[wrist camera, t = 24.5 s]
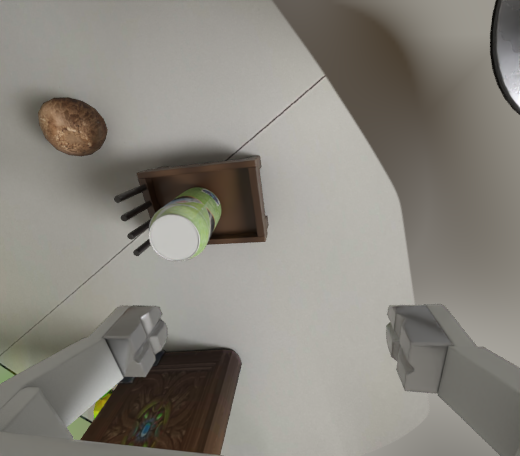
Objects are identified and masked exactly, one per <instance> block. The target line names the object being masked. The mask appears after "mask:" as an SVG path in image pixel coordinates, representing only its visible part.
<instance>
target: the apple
mask: <svg viewBox="0 0 520 456" xmlns="http://www.w3.org/2000/svg"><path fill="white" fill-rule="evenodd" d="M110 391H111V389H110V390H109V391H108V392H107V393H106V394H105V395H103V396H102V397H101V398H100V399H99V400H98V401H97V402H96V404H95V408H94V419H95V418H96V416H97V415H98V413H99V412H100V410H101V409H102V407H103V406H104V404H105V403H106V401H107V400H108V399H109V397H110V396H111V394H108V393H109V392H110Z"/></svg>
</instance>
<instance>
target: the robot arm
mask: <svg viewBox="0 0 520 456" xmlns="http://www.w3.org/2000/svg"><path fill="white" fill-rule="evenodd" d="M387 315H388V318H389V320H390V323H389V324H388V325H387V326H386V339H387V345H388V349H389V352H390V354H391V357H392V358H394V359H395V360H396V361H397V369H396V370H397V372H398V375H399V377H400V380H401V382H402V385H403V387H404V390H405V391H413V392H425V393H438V396H439V397H440V398H441V399H442V400H443V401H444V402H445V403H446V404H447V405H449V406H450V407H451V408H452V409H453V410H454V411H455V412H456V413H457V414H458V415H459V416H460V417H461V418H462V419H463V420H464V421H465V422H466V423H467V424H468V425H469V426H470V427H471V428H472V429H473V430H474V431H475V432H476V433H477V434H479V436H481V437H482V438H483V439H484V440H485V441H486V442H487V443H488V444H489V445H490V446H491V447H492V448H493V449H494V450H495V451H496V452H497V453H498V454H499V455H500V456H520V368H519V367H517V366H516V365H514V364H512V363H510V362H509V361H507V360H505V359H504V358H502V357H500V356H498V355H497V354H495V353H493V352H492V351H490V350H488V349H486V348H485V347H477V346H476V344H475V343H474V342H473V341H472V339H471V338H470V337H469V336H468V334H467V333H466V332H465V330H464V329H463V328H462V327H461V325H460V324H459V323H458V322H457V320H456V319H455V318H454V317H453V315H452V314H451V313H450V312H449V311H448V309H447V308H446V307H445V306H444V305H442V304H427V305H426V304H424V305H389V307H388V313H387ZM161 316H162V312H161V309H160V307H157V306H134V305H133V306H123V305H122V306H119V307H117V308H116V309H115V310H114V311H113V312H112V313H111V314H110V315H109V316H108V317H107V318H106V319H105V320H104V322H103V323H102V324H101V325H100V326H99V327H98V328H97V329H96V330H95V331H94V332H93V333H92V334H91V335H90V336H89V337H88V338H83V339H81V340H79V341H77V342H75V343H73V344H72V345H70V346H68V347H66V348H64V349H63V350H61V351H59V352H57V353H55V354H53V355H52V356H50V357H48V358H46V359H44V360H43V361H41V362H39V363H37V364H35V365H33V366H32V367H30V368H28V369H26V370H24V371H23V372H21V373H19V374H17V375H15V376H13V377H12V378H10V379H8V380H6V381H4V382H3V383H1V384H0V456H222V455H213V454H204V453H194V452H185V451H176V450H166V449H157V448H148V447H138V446H129V445H120V444H111V443H101V442H92V441H83V440H74V439H73V436H72V435H71V433H70V432H69V430H68V429H67V427H68V426H69V425H70V424H71V423H72V422H73V421H75V420H76V419H77V418H78V417H79V416H80V415H82V414H83V413H84V412H85V411H86V410H87V409H88V408H90V407H91V406H92V405H93V404H94V403H95V402H97V401H98V400H99V399H100V398H101V397H102V396H103V395H105V394H106V393H107V392H108V391H109V390H110V389H112V388H113V387H114V386H115V385H116V384H117V383H119V382H120V381H121V380H122V379H123V377H146V376H147V374H148V372H149V371H150V369H151V367H152V366H153V364H154V362H155V361H156V359H155V354H157V353H158V352H159V351H161V350H162V349H163V347H164V345H165V343H166V340H167V336H168V331H167V326H166V323H165V322H163V321H162V320H161Z"/></svg>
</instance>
